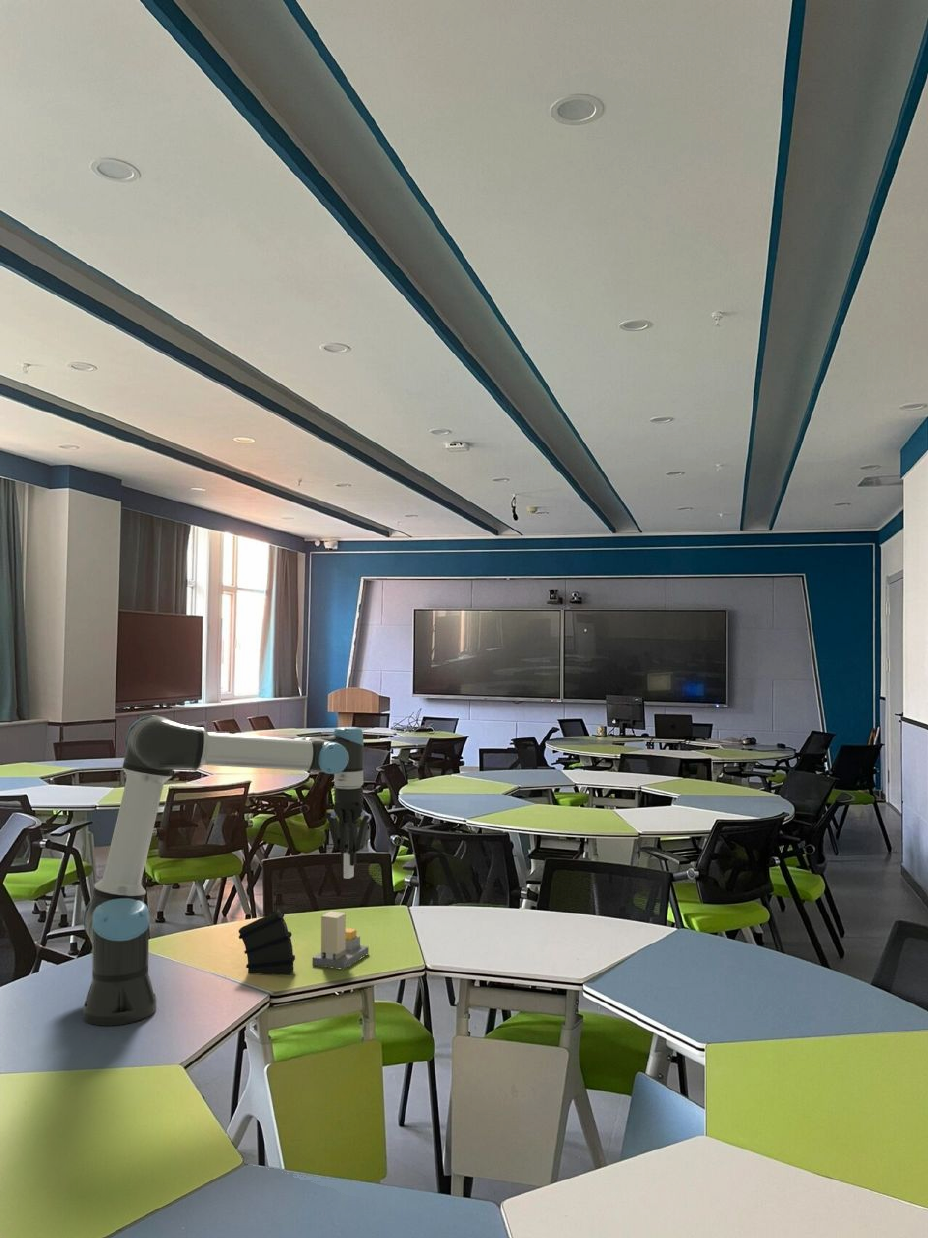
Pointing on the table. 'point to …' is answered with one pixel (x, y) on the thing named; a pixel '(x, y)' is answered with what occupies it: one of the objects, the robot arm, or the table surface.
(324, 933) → the block
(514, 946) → the table surface
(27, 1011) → the table surface
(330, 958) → the rail cradle
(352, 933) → the button
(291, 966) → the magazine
